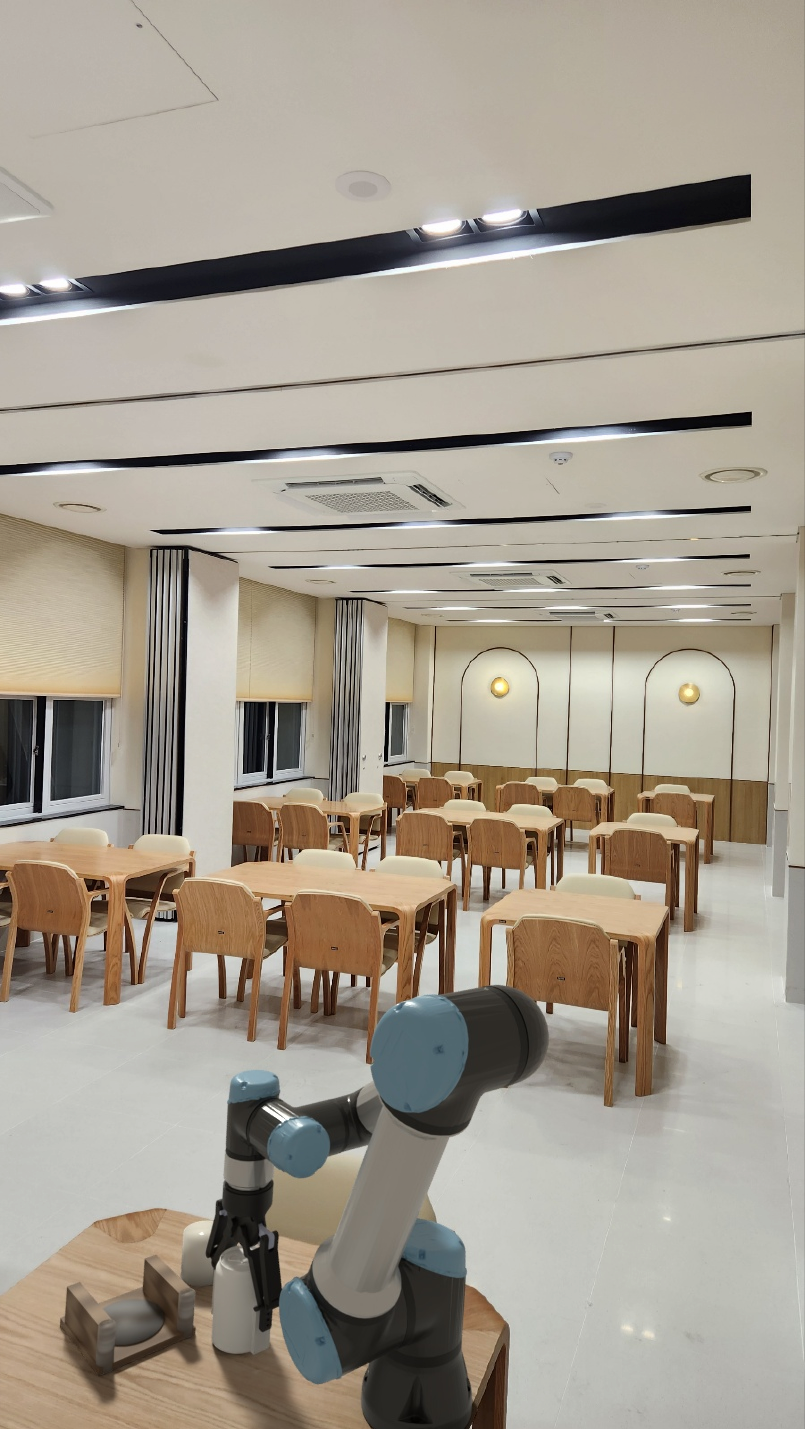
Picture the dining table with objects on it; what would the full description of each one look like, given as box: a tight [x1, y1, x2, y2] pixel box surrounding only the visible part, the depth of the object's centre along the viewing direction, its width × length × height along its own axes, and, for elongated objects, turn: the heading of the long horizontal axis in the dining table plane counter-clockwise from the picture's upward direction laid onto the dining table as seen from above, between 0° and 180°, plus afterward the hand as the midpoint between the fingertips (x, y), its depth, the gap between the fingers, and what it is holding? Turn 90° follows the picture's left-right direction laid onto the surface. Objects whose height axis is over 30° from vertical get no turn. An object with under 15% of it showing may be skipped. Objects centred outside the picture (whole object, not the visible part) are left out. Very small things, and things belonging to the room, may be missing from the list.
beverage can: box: [211, 1244, 264, 1355], centre depth 135 cm, size 8×8×12 cm
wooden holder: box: [59, 1254, 197, 1377], centre depth 135 cm, size 14×15×6 cm
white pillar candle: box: [180, 1220, 217, 1287], centre depth 151 cm, size 7×7×7 cm
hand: (239, 1329), depth 135 cm, fingers open, 10 cm apart
